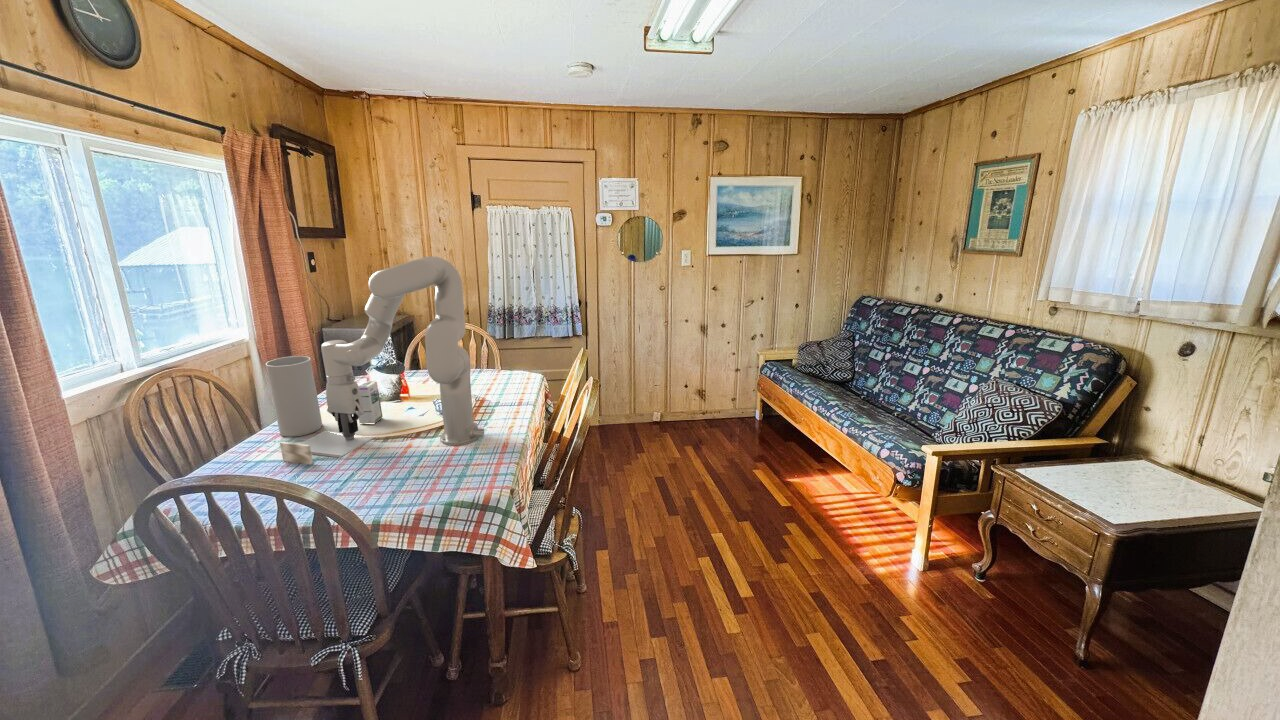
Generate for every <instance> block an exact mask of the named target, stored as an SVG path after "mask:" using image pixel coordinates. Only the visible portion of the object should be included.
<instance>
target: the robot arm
mask: <svg viewBox="0 0 1280 720" xmlns="http://www.w3.org/2000/svg"><path fill="white" fill-rule="evenodd" d="M460 275H461V274H460V273H459V272H458V270H457V268H456V266H454V265H453V264H452V263H451V262H449V261H448V260H446V259H444V258H442V257H439V256H434V255H432V256H430V255H429V256H424V257H421V258H417V259H413V260H411V261H408V262H407V261H406V262H404V263H400V264H398V265H395V266H391V267H388V268H383V269H380V270H376V271H375V272H374V273H372V274H371V276H370V277H369V280H368V289H369V292H370V293H371V294H370V296H369V298H368V300H367V303H366V304H365V307H364V313H365V314H366V315H367V316H368V321H367V326H366V328H365V330H364V332H363V334H362V336H361V338H359V339H356V340H355V341H352V342H349V343H348V342H347V341H345V340H343V339H334V340H333V339H331V340H328V341H325V342H323V343H322V344H321V345H320V346H321V347H320V348H321V355H322V361H323V367H324V371H325V377H326V384H325V385H326V386H325V398H326V404H327V409H326V412H328V413H329V414H330V415H332V417H334V419H335V422H337V428H338V432H340V433H342V432H343V431H342V425H341V418H340V413H345V414H347V415H348V418H349V423H348V426H349V432H350V434H353V433H355V434H356V432H358V431H359V425H358V424H359V423H358V421H359V417H360V416H361V415H363V414H364V411H363V402H362V397H361V393H360V390H359V387H358V384H359V383H357V381H355V380H356V376H354V373H353V372H354V371H353V367H361V366H363V365H366V364H367V363H369V362H370V361H372V360H374V359H375V358H377V357H378V356H379V355H380V354H381V352H382V351H383V349H384V348H385V346H386V343H387V341H388V339H389V338H390V335H391V332H392V328H393V321H394V318H395V316H396V314H397V312H398V310H399V308H400V305H401V304H402V302H403V300H404V298H405V296H406V295H407V294H412V293H413V292H416V291H421V290H424V289H428V288H430V287H432V286H433V287H434V289H435V290H434V310H435V311H434V314H435V318H434V319H433V320H431V322H430V323H428V325H427V327H426V330H425V333H424V334H425V335H424V342H425V344H424V345H425V358H426V361H425V362H426V368H427V373H428V375H429V377H430V378H431V380H433V381H434V382H435V383H437V384H438V385H439V394H440V404H441V413H442V421H443V428H444V429H443V430H444V432H443V433H441V435H440V438H439V440H440V442H441V443H442V444H443V445H444V444H445V445H446V446H447V445H448V446H461V445H466V444H470V443H473V442H475V441H477V440H478V439H479V438H481V437H482V438H483V437H484V436H485V428H481V427H478V423H476V422H475V421H474V419H475V418H474V410H473V400H472V399H473V397H472V386H471V385H472V384H471V358H470V355H469V353H468V351H467V350H466V349H465V348H464V347H462V346H460V345H459V342H460V341H461V340H462V339H463V337H464V336H465V334H466V321H465V320H466V319H465V304H464V288H463V282H462V279H461V276H460Z"/></svg>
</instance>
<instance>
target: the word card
mask: <svg viewBox="0 0 1280 720" xmlns="http://www.w3.org/2000/svg"><path fill="white" fill-rule="evenodd" d="M279 445H280V450H281V455H282V461H283V462H288V461H289V463H297V464H303V465H304V464H305V465H312V464H314V463H313V462H314V460H313V457H312V456H313V455H312V454H311V449H310V445H305V444H300V443H295V442H289V441H287V442H286V441H281V442H279Z"/></svg>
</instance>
